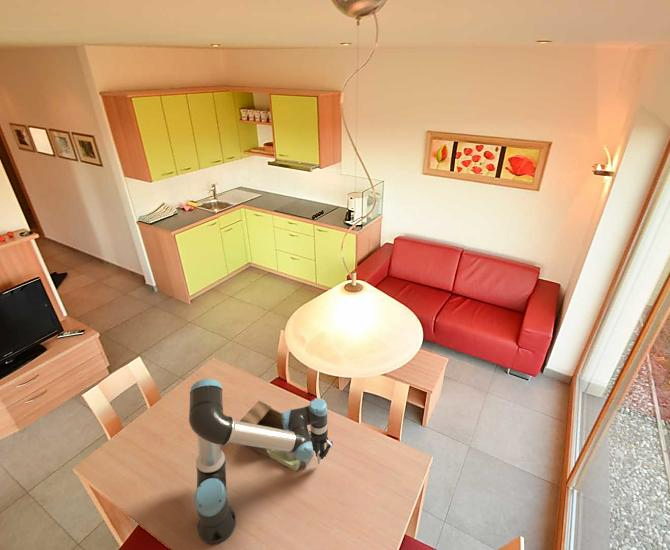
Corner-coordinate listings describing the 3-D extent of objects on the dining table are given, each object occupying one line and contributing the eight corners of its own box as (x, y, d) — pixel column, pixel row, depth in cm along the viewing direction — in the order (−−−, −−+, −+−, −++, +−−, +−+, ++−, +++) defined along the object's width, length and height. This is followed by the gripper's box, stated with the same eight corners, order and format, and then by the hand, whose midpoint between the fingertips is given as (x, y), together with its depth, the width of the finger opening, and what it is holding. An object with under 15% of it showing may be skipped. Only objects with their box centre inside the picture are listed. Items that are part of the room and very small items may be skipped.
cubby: (267, 459, 189) (264, 438, 182) (240, 444, 196) (236, 423, 189) (286, 433, 202) (285, 413, 195) (261, 420, 209) (258, 400, 202)
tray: (301, 474, 182) (301, 467, 179) (267, 455, 190) (266, 448, 188) (317, 451, 193) (317, 443, 190) (284, 433, 201) (283, 426, 198)
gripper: (336, 427, 171) (336, 461, 183) (311, 416, 177) (312, 449, 189) (327, 440, 166) (328, 474, 177) (302, 428, 171) (304, 461, 183)
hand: (320, 461), depth 183 cm, fingers closed
